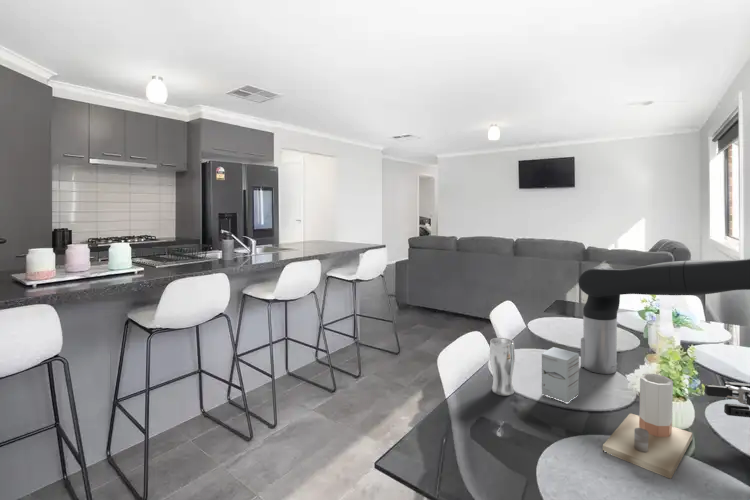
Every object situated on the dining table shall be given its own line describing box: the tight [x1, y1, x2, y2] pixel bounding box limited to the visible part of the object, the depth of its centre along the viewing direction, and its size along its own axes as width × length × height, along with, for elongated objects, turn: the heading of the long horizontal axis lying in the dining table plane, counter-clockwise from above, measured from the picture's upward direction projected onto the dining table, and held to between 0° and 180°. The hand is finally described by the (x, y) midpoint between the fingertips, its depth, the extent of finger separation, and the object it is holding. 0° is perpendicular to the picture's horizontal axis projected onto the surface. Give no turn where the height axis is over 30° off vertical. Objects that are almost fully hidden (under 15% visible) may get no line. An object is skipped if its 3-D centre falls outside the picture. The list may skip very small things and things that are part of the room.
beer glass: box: [489, 337, 516, 397], centre depth 112 cm, size 7×7×15 cm
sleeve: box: [638, 373, 674, 437], centre depth 87 cm, size 6×6×12 cm
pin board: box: [602, 412, 693, 480], centre depth 84 cm, size 12×18×6 cm, turn 130°
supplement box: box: [541, 346, 580, 402], centre depth 107 cm, size 7×7×13 cm
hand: (715, 399), depth 83 cm, fingers open, 8 cm apart
